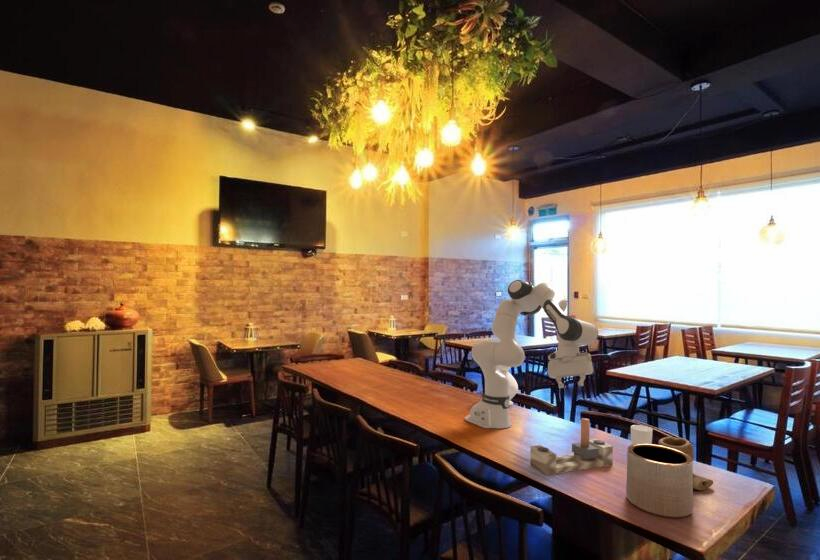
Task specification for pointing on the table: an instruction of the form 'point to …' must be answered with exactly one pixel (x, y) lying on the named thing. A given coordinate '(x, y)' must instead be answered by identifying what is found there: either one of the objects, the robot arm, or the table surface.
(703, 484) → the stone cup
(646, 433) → the white cup
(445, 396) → the table surface
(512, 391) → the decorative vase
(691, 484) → the planter
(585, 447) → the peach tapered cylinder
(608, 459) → the rail track
